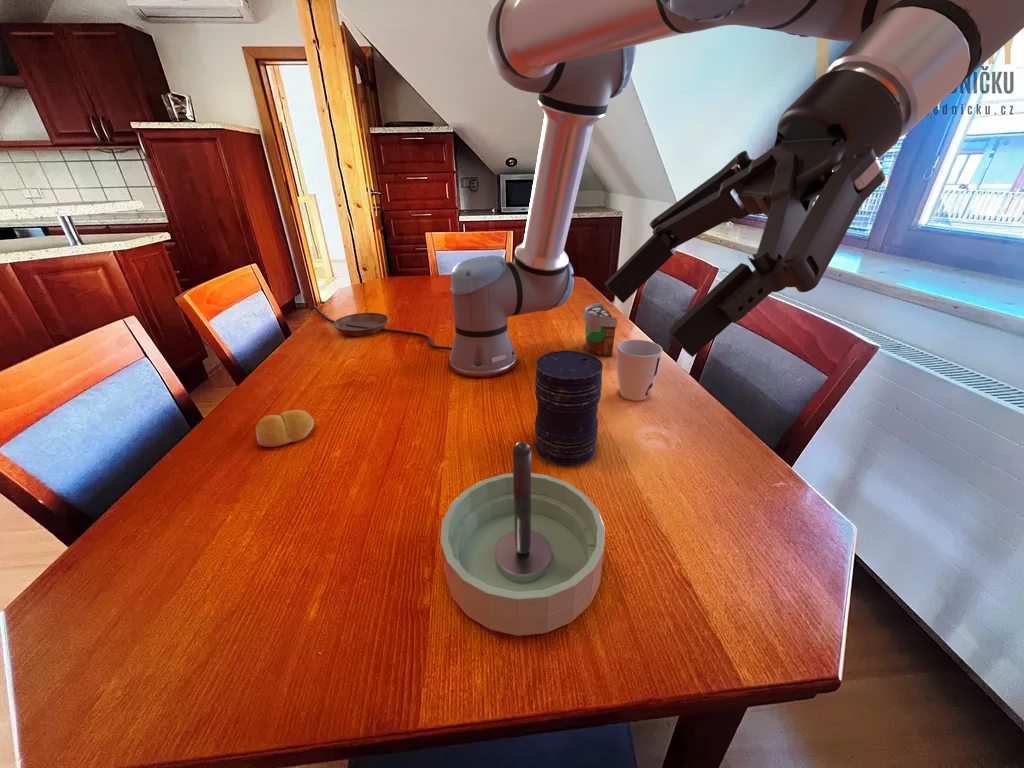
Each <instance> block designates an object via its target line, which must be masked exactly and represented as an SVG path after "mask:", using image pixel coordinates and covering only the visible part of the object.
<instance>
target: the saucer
mask: <svg viewBox="0 0 1024 768" xmlns="http://www.w3.org/2000/svg"><path fill="white" fill-rule="evenodd" d="M389 318H390V317H388V315H386V314H384V313H381V312H380V313H379V312H359V313H352V314H348V315H344V316H341V317H339V318H338V319H336V320H334V321H335V322H334V323H332V324H333V325H332V326H333V327H334V328H335V329H336V330H337V331H339V332H340V333H342V334H344V335H347V336H351V337H352V336H353V337H363V336H369V335H373V334H376V333H378V332H381V331H380V330H381V329H384V327H386V325H387V324H388V322H389ZM346 324H348V325H355V326H362V327H372V328H368V329H362V328H355V327H350V326H346Z"/></svg>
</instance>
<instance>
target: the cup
mask: <svg viewBox="0 0 1024 768" xmlns="http://www.w3.org/2000/svg"><path fill="white" fill-rule="evenodd" d="M616 352H617V353H616V356H617V357H616V373H617V384H618V387H619V391H620V392H619V393H620V395H621V396H622V397H623V399H626V400H628V401H634V402H638V401H644V400H646V399H647V398H648V396H649V394H650V392H651V390H652V388H653V386H654V383H655V381H656V378H657V375H658V373H659V368H660V364H661V360H662V355H663V347H662V346H661V345H660V344H658V343H656V342H653V341H650V340H644V339H626V340H623V341H620V342H619V343H617V349H616Z"/></svg>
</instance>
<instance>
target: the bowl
mask: <svg viewBox="0 0 1024 768" xmlns="http://www.w3.org/2000/svg"><path fill="white" fill-rule="evenodd" d="M514 530H515V527H514V484H513V472H510V473H509V472H508V473H502V474H499V475H495V476H491V477H488V478H484V479H482V480H480V481H479V482H477V483H475V484H473V485H471V486H470V487H468V488H466V489H464V490H463V491H462V493H460V495H458V496H457V497H456V498H455V499H454V500H453V501H452V502H451V503H450V504H449V507H448V509H447V511H446V513H445V515H444V517H443V519H442V520H441V528H440V538H439V543H440V550H441V558H442V565H443V573H444V577H445V580H446V584H447V587H448V590H449V593H450V597H451V598H452V599H453V601H454V602H455V603H456V604H457V605H458V607H459V608H460V609H461V610H462V612H463V613H464V614H465V616H467V617H468V618H469V619H471V620H473V621H475V622H477V623H478V624H480V625H482V626H483V627H485V628H487V629H489V630H491V631H495V632H499V633H502V634H503V633H504V634H509V635H513V636H517V637H521V636H530V635H540V634H541V635H542V634H547V633H550V632H552V631H554V630H556V629H559V628H561V627H564V626H566V625H568V624H570V623H572V622H574V620H575V619H577V618H578V617H579V616H580V615H581V614H582V613H583V612H584V611H585V610H586V609H587V608H588V607H589V606H590V605H591V604H592V601H593V600H594V597H595V596H596V593H597V591H598V589H599V587H600V585H601V580H602V579H601V578H602V570H603V563H604V553H605V540H606V539H605V538H606V527H605V525H604V522H603V519H602V517H601V513H600V511H599V508H597V506H596V505H595V504H594V503H593V501H591V499H590V498H589V497H588V496H587V495H586V493H584V492H583V491H581V490H580V489H578V488H577V487H576V486H574V485H573V484H571V483H570V482H568V481H565V480H563V479H559V478H556V477H554V476H551V475H548V474H541V473H534V472H531V530H532V531H535V532H537V533H539V534H541V535H542V536H543V537H544V538H546V540H547V541H548V543H549V545H550V547H551V565H550V568H549V570H548V572H547V573H546V574H545V575H544V576H543V577H542V578H540V579H539V580H537V581H534V582H531V583H515V582H512V581H510V580H508V579H506V578H505V577H503V576H502V575H501V574H500V572H499V571H498V569H497V567H496V563H495V547H496V544H497V543H498V541H499V540H500V538H501V537H502V536H504V535H505V534H507V533H508V532H511V531H514Z"/></svg>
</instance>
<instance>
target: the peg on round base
mask: <svg viewBox="0 0 1024 768" xmlns="http://www.w3.org/2000/svg"><path fill="white" fill-rule="evenodd" d="M512 473H513V484H514V527H515V530H514V531H511V532H508V533H507V534H505V535H504V536H502V537H501V538H500V540H499V541H498V543H497V544H496V547H495V563H496V567H497V569H498V571H499V572H500V574H501V575H502V576H503V577H505V578H506V579H508V580H510V581H512V582H515V583H531V582H534V581H537V580H539V579H540V578H542V577H543V576H544V575H545V574H546V573H547V572H548V570H549V568H550V565H551V547H550V545H549V543H548V541H547V540H546V538H544V537H543V536H542V535H541V534H539V533H537V532H535V531H532V530H531V473H532V448H531V446H530V444H529V443H528V442H526V441H518V442H516V443H515V444H514V446H513V447H512Z"/></svg>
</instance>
